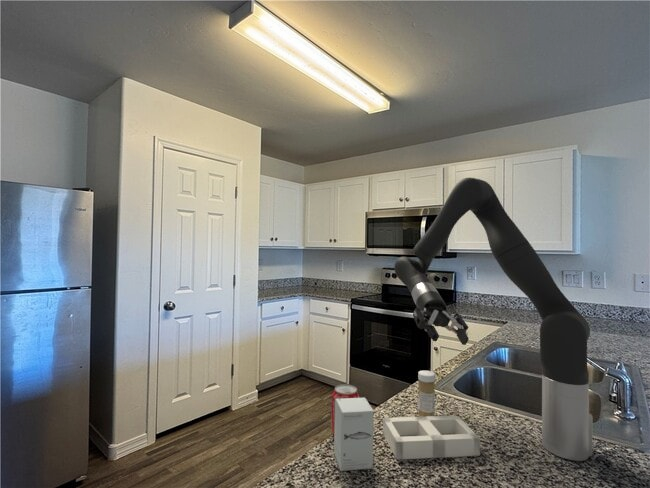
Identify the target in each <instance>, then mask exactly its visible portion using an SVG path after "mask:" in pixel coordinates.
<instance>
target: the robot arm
mask: <svg viewBox="0 0 650 488" xmlns="http://www.w3.org/2000/svg"><path fill="white" fill-rule="evenodd" d="M469 211H471V212H472V213H473V214H474V216H475V217H476V219H478V221H479V222H480V224H481V225H482V227H483V228H484V231H485V234H486V237H487V241H488V244H489V248H490V251H491V253H492V255H493V258H494V259H495V260H496V262H497V264H498V265H499V267H500V268H501V270H502V271H503V273H504V274H505V275H506V276H507V278H508V279H509V280H510V281H511V282H512V283H513V284H514V285H515V286H516V287H517V288H518V289H519V290H520V291H521V292H522V293H523V294H524V295H525V296H526V297H527V298H528V299H529V300H530V302H531V303H532V305H533V306H534V308H535V309H536V311H537V312H538V315H539V316H540V318H541V320H542V321H541V324H540V326H539V327H540V328H539V356H540V357H539V360H540V365H541V371H542V372H541V375H542V376H541V378H542V379H541V383H542V384H541V385H542V386H541V394H542V395H541V445H542V447H543V448H544V449H545V450H546V451H548V452H549V453H551V454H553V455H554V456H557V457H559V458H562V459H566V460H571V461H575V462H580V461H582V462H583V461H586V460H588V459H589V457H593V456H594V455H593V451H594V450H593V447H594V446H593V445H594V444H593V443H594V442H593V440H594V439H593V437H594V435H593V426H594V425H593V424H594V423H593V419H594V418H593V417H594V416H593V414H592V413H590V409H589V408H590V405H589V403H590V402H589V401H590V397H589V395H590V392H589V390H590V388H589V387H590V386H589V382H590V379H589V378H590V373H589V368H588V340H589V338H590V335H591V329H590V325H589V323H588V321H587V320H586V318H585V317H584V316H583V315H582V314H581V313H580V312H579V311H578V309H577V308H576V307H575V306H574V305H573V304H572V302H570V300H569V299H568V298H567V297H566V296H565V294H564V293H563V291H561V289H560V288H559V287H558V284H556V282H555V280H554V278H553V277H552V275H551V273H550V272H549V270H548V269H547V267H546V265H545V264H544V262H543V260H542V259H541V258H540V256H539V255H538V252H537V251H536V250H535V249H534V247H533V246H532V244H531V243H530V242H529V241H528V239H527V238H526V237H525V235H524V234H523V233H522V231H521V230H520V229H519V227H518V226H517V225H516V224H515V222H514V221H513V220H512V218H511V217H510V216H509V215H508V213H507V212H506V210H505V208H504V207H503V205H502V203H501V202H500V199H499V198H498V196H497V194H496V192H495V190H494V189H493V186H491V184H490V183H488V182H487V181H485V180H483V179H481V178H480V179H479V178H475V177H465V178H462V179H460V180H459V181H458V182H457V183H456V184H455V185H454V187H453V188H452V190H451V192H450V193H449V195H448V197H447V199H446V200H445V202H444V204H443V206H442V208H441V209H440V210H439V212H438V214H437V216H436V217H435V219H434V221H432V223H431V225H430V226H429V228H428V229H427V230H426V232H425V233H424V234H423V236H422V237H420V239H419V240H418V241H417V243H416V244H415V246H414V247H413V250H412V251H413V254H414V256H415V257H416V258H417V260H415V259H413V258H411V257H407V256H400V257H399V258H397V260H395V263H394V266H393V268H394V269H393V270H394V273H395V275H396V276H397V278H398V279H399V280H400V282H402V284H404V286H405V287H406V288H408V290H409V292H410V294H411V297H412V299H413V302H414V304H415V306H416V307H415V309H414V311H413V313H412V316H413V319H414V322H415V325H416V326H417V328H418V329H419V330H422V329H424V331H425V332H427V334H428V336H429V338H430V339H431V340H432V341H433V342H437V341H438V340H439V338H440V335H439V333H438V331H437V328H436V327H441V328H445V329H446V330H447V331H449V332H452V333H454V334H456V337H457V338H458V340H459V342H460V343H461V345H463V346H466V345H467V343H468V342H469V339H470V338H469V337H468V335H467V334H466V332H467V331H468V329H469V326H468V324H467V322H465V320H464V319H463V317H462V316H461V315H460V313H458V312H456V313H454V314H452V313H450V312H449V311H448V310H447V305H446V302H445V300H444V299H443V298H442V296H441V295H440V293H439V292H438V290H437V288H435V287H434V286H435V285H433V284H432V282H431V281H430V279H429V278H428V276H427V272H428V270H429V268H430V265H431V264H432V261H433V259H434V258H436V257H437V255H438V254H439V253H440V252H441V250H442V249H443V248H444V246H445V245H446V243H447V241H448V240H449V238H450V235H451V233H452V231H453V229H454V227H455V225H456V224H457V223H458V221H460V220H461V218H462V217H464V215H465V214H467V213H468V212H469ZM450 321H451V324H450ZM449 324H450V325H449ZM455 327H456V328H457V329H456V328H455Z"/></svg>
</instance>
